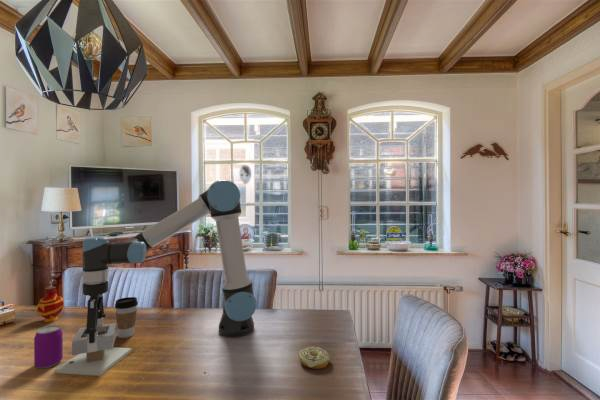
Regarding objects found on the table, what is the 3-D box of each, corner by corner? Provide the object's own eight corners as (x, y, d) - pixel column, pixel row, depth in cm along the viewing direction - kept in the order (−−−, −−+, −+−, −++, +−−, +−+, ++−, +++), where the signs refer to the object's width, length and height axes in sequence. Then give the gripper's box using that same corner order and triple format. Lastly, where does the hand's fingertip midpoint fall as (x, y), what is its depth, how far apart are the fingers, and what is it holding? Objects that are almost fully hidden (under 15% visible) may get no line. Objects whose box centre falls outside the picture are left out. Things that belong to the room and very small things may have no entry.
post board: (131, 351, 117) (131, 329, 117) (100, 375, 101) (100, 350, 101) (91, 349, 119) (91, 327, 119) (54, 372, 103) (54, 347, 103)
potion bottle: (68, 318, 148) (68, 286, 148) (41, 326, 140) (41, 292, 139) (59, 313, 154) (59, 283, 154) (32, 320, 145) (32, 288, 145)
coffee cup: (127, 340, 126) (127, 303, 126) (109, 338, 128) (109, 301, 128) (142, 331, 135) (142, 296, 134) (125, 329, 136) (125, 295, 136)
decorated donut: (311, 374, 103) (311, 363, 103) (293, 360, 112) (293, 349, 112) (335, 365, 109) (335, 354, 109) (316, 352, 118) (316, 342, 118)
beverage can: (31, 364, 108) (31, 329, 108) (59, 355, 114) (59, 322, 114) (37, 372, 103) (36, 335, 103) (65, 362, 109) (65, 328, 109)
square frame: (116, 334, 118) (116, 322, 118) (112, 348, 107) (112, 335, 107) (79, 340, 113) (79, 327, 113) (71, 355, 103) (71, 341, 102)
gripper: (89, 274, 119) (89, 331, 119) (74, 292, 97) (74, 362, 98) (112, 272, 122) (112, 328, 123) (102, 289, 101) (102, 357, 101)
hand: (95, 343), depth 110 cm, fingers closed on square frame, 11 cm apart
